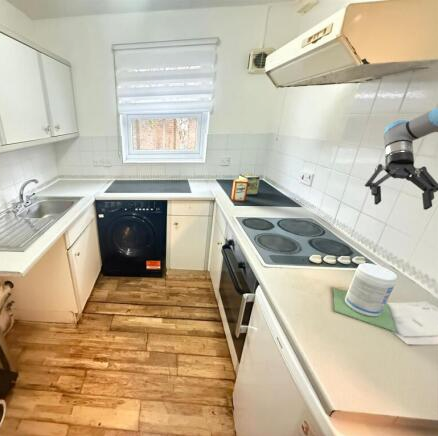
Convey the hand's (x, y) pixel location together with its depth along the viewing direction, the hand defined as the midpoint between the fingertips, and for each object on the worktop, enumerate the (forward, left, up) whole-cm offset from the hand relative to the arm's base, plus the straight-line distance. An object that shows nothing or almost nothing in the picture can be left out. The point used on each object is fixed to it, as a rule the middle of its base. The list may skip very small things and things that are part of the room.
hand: (402, 205), depth 85 cm
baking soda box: (+72, -70, -31) cm, 106 cm away
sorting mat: (+5, +25, -31) cm, 40 cm away
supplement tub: (+5, +25, -31) cm, 40 cm away
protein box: (+71, -93, -31) cm, 121 cm away
